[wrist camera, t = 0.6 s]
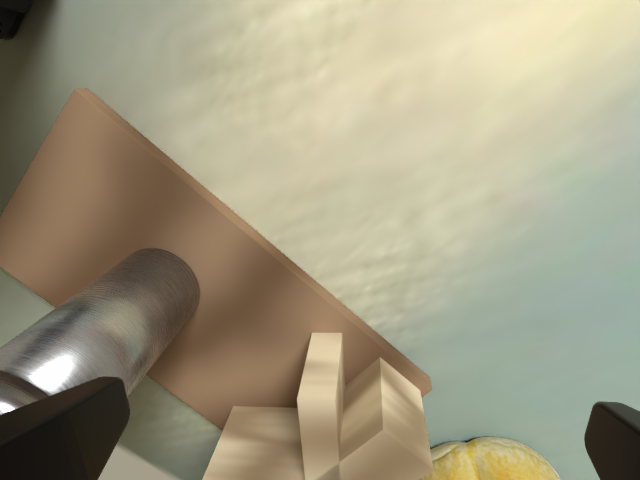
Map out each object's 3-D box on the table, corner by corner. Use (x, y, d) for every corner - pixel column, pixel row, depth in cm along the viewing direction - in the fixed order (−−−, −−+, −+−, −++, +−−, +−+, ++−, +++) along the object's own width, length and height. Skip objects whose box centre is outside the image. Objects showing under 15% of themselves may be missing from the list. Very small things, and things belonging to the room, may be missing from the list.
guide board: (-5, 245, 23) (-21, 251, 22) (87, 88, 20) (74, 89, 19) (303, 474, 27) (301, 488, 26) (429, 377, 23) (432, 389, 22)
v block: (218, 419, 25) (184, 496, 20) (330, 315, 22) (320, 379, 17) (301, 480, 26) (286, 567, 21) (420, 390, 23) (433, 470, 18)
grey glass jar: (93, 287, 22) (-140, 461, 12) (144, 220, 21) (-78, 355, 10) (172, 346, 23) (15, 556, 13) (227, 286, 21) (96, 473, 11)
